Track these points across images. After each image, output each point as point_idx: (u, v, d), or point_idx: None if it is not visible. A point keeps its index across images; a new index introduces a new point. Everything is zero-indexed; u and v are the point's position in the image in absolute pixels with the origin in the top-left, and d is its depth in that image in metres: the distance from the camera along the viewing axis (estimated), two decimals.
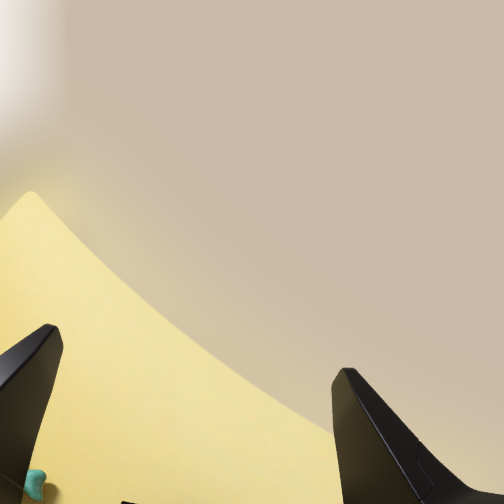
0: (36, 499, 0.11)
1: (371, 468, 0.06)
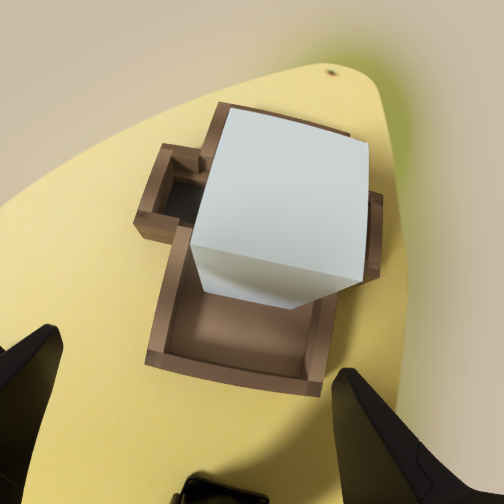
0: None
1: (371, 468, 0.06)
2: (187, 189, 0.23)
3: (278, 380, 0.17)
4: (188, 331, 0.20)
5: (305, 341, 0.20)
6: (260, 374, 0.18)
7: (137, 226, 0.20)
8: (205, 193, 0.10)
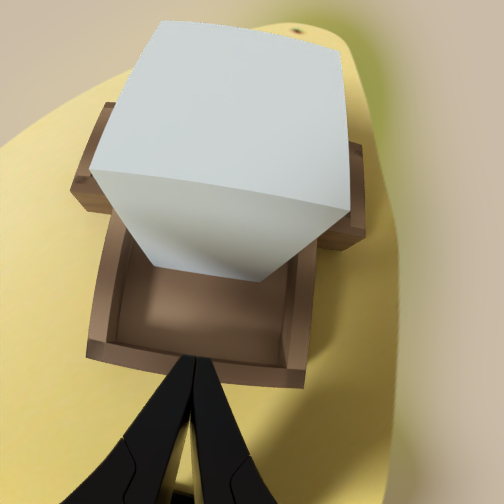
0: None
1: (195, 472, 0.05)
2: None
3: (249, 370, 0.14)
4: (138, 315, 0.16)
5: (280, 320, 0.17)
6: (226, 364, 0.14)
7: (75, 194, 0.15)
8: (116, 105, 0.06)
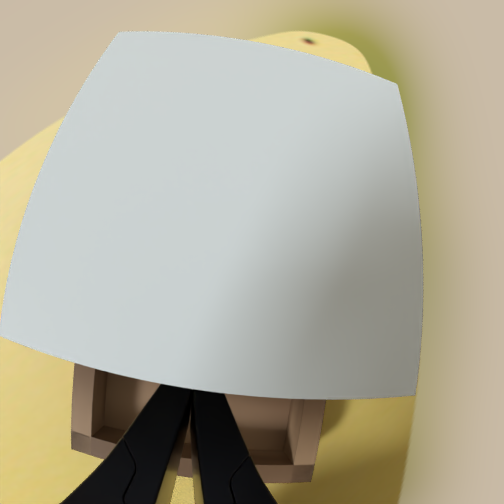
0: None
1: (195, 472, 0.05)
2: None
3: None
4: (125, 400, 0.13)
5: (288, 406, 0.14)
6: None
7: None
8: (28, 208, 0.03)
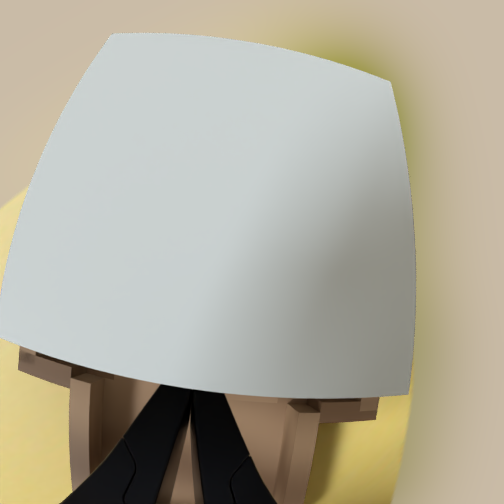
0: None
1: (195, 472, 0.05)
2: None
3: None
4: None
5: None
6: None
7: None
8: (23, 210, 0.03)
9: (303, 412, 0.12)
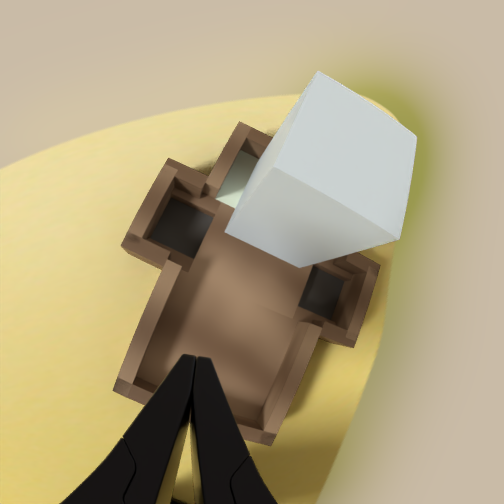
0: None
1: (195, 472, 0.05)
2: (183, 210, 0.22)
3: None
4: (158, 362, 0.19)
5: (268, 390, 0.20)
6: None
7: (124, 248, 0.18)
8: (291, 130, 0.11)
9: (312, 324, 0.20)
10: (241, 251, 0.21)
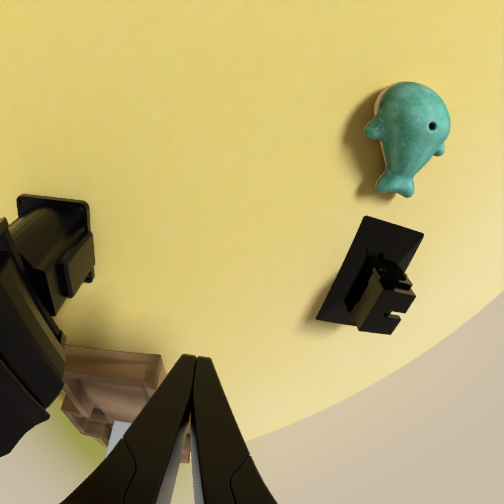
0: (379, 188, 0.17)
1: (195, 472, 0.05)
2: None
3: (75, 377, 0.23)
4: None
5: None
6: (86, 379, 0.23)
7: None
8: None
9: (88, 416, 0.27)
10: None
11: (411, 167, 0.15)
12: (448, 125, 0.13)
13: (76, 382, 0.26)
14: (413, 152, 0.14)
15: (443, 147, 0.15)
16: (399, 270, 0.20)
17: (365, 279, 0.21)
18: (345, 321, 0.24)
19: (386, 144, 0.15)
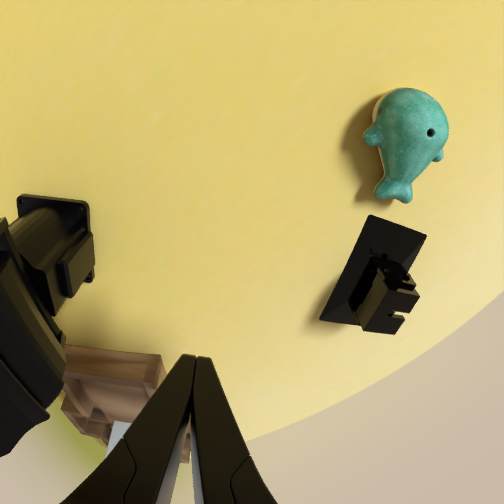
0: (377, 194, 0.17)
1: (195, 472, 0.05)
2: None
3: (75, 377, 0.23)
4: None
5: None
6: (86, 379, 0.23)
7: None
8: None
9: (88, 416, 0.27)
10: None
11: (410, 173, 0.15)
12: (447, 131, 0.13)
13: (76, 382, 0.26)
14: (411, 159, 0.15)
15: (441, 153, 0.15)
16: (403, 270, 0.20)
17: (369, 279, 0.21)
18: (349, 321, 0.24)
19: (384, 151, 0.16)
